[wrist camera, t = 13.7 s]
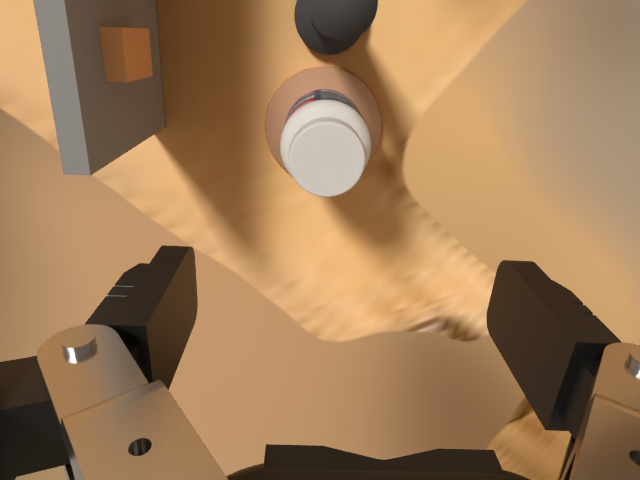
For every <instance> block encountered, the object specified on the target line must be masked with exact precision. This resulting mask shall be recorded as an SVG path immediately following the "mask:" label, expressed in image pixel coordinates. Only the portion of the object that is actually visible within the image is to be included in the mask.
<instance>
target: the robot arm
mask: <svg viewBox="0 0 640 480" xmlns="http://www.w3.org/2000/svg"><path fill="white" fill-rule="evenodd" d="M196 285H197V284H196V269H195V255H194V250H193V248H192V247H184V246H161V248H160V249H159V251H158V252H157V254H156V255H155V256H154V258H153V259H152V261H151V262H150V263H149V264H144V263H140V264H138V265H136V266H135V267H133V268H131V269H129V270H128V271H126V272H124V273H123V275H122V276H121V277H120V279H119V280H118V281H117V283H116V284H115V287H113V288H112V289H111V290H110V292H109V293H108V296H107V297H105V298H104V300H103V301H102V302H101V303H100V305H99V306H98V307H97V309H96V310H95V311H94V313H93V314H92V315H91V317H90V318H89V319H88V321H87V322H86V323H85V325H80V326H76V327H71V328H68V329H65V330H63V331H60V332H58V333H56V334H54V335H53V336H51V337H50V338H48V339H47V340H46V341H45V342H44V343H43V344H42V345H41V346H40V348H39V350H38V351H37V356H33V357H28V358H22V359H16V360H11V361H4V362H0V480H15V478H16V477H17V476H21V475H25V474H29V473H34V472H38V471H41V470H46V469H50V468H54V467H58V466H63V465H64V469H65V472H66V475H67V478H68V480H530V479H528V478H525V477H523V476H520V475H517V474H515V473H512V472H509V471H505V470H502V468H501V466H500V464H499V461H498V459H497V457H496V454H495V452H494V450H467V449H466V450H464V449H435V450H431V451H426V452H421V453H417V454H412V455H408V456H403V457H398V458H393V459H388V460H379V459H375V458H370V457H366V456H362V455H358V454H354V453H350V452H345V451H341V450H338V449H333V448H329V447H325V446H305V445H304V446H303V445H266V450H265V460H264V463H263V464H259V465H255V466H251V467H248V468H245V469H242V470H240V471H237V472H235V473H233V474H231V475H228V476H225V474H224V473H223V471H222V470H221V468H220V467H219V465H218V464H217V462H216V461H215V459H214V458H213V456H212V455H211V453H210V452H209V450H208V449H207V447H206V446H205V444H204V443H203V441H202V440H201V438H200V437H199V435H198V434H197V433H196V431H195V429H194V428H193V427H192V425H191V424H190V422H189V420H188V419H187V418H186V416H185V415H184V413H183V411H182V410H181V408H180V407H179V406H178V404H177V402H176V401H175V400H174V398H173V396H172V395H171V393H170V392H169V387H170V385H171V382H172V379H173V377H174V374H175V372H176V370H177V367H178V364H179V362H180V359H181V357H182V354H183V352H184V349H185V347H186V344H187V341H188V339H189V336H190V334H191V331H192V329H193V326H194V324H195V320H196V315H197V302H198V301H197V286H196ZM487 328H488V331H489V334H490V336H491V338H492V339H493V341H494V343H495V345H496V346H497V348H498V350H499V351H500V353H501V355H502V357H503V358H504V360H505V362H506V363H507V365H508V367H509V368H510V370H511V372H512V374H513V375H514V377H515V379H516V380H517V382H518V384H519V386H520V387H521V389H522V391H523V392H524V394H525V396H526V398H527V399H528V401H529V403H530V404H531V406H532V408H533V410H534V411H535V413H536V415H537V416H538V418H539V420H540V422H541V423H542V425H543V427H544V428H545V430H558V431H570V433H571V435H572V436H571V438H570V441H569V443H568V446H567V449H566V452H565V456H564V459H563V462H562V466H561V469H560V472H559V476H558V479H557V480H640V345H636V344H630V343H622V342H621V341H620V340H619V339H618V338H617V337H616V336H615V335H614V334H613V333H612V332H611V331H610V330H609V329H608V328H607V327H606V326H605V325H604V324H603V323H602V322H601V321H600V320H599V319H598V318H597V317H596V316H595V315H593V314H592V312H591V311H590V310H589V309H588V308H587V307H586V306H585V305H583V303H582V302H581V301H580V300H579V299H578V298H577V297H576V296H575V295H574V294H573V293H572V292H571V291H570V290H568V289H567V288H565V287H563V286H562V285H560V284H558V283H556V282H554V281H552V280H551V279H550V278H549V277H548V276H547V275H546V274H545V273H544V272H543V271H542V270H541V269H540V268H539V267H538V266H537V265H536V264H535V263H534V262H532V261H506V260H504V261H502V262H501V263H500V265H499V267H498V269H497V273H496V277H495V281H494V285H493V289H492V294H491V298H490V302H489V306H488V310H487Z"/></svg>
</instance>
